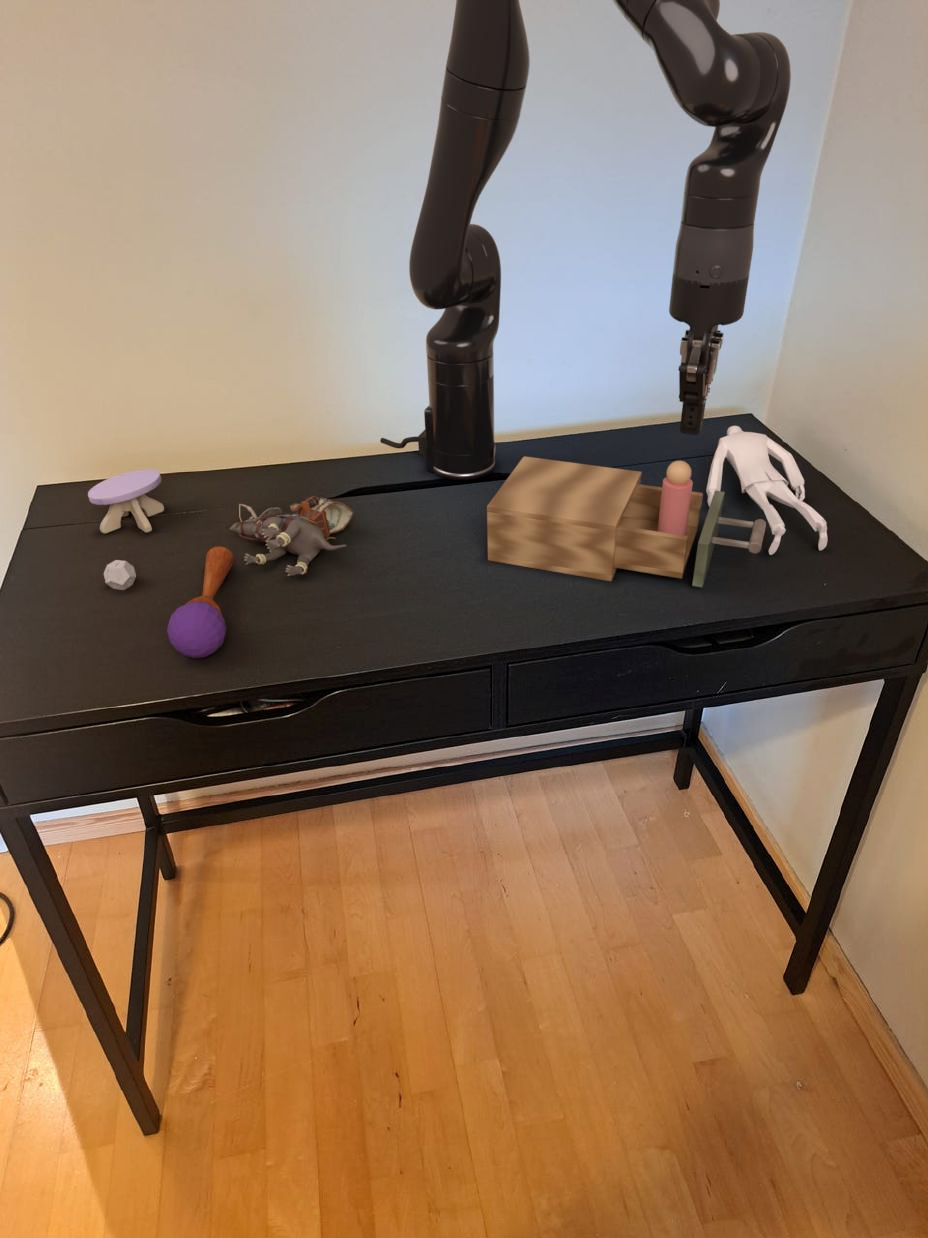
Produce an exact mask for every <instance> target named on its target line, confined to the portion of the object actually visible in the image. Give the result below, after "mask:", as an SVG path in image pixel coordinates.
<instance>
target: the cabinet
mask: <svg viewBox="0 0 928 1238" xmlns="http://www.w3.org/2000/svg"><path fill="white" fill-rule="evenodd" d="M642 472H643V471H638V470H631V469H623V468H617V467H616V468H615V467H608V466H600V465H592V464H585V463H578V462H571V461H563V460H554V459H547V458H539V457H533V456H523V457H522V458H521V459H520V460H519V462H518V463H517V465H516V466H515V468H514V469H513V471H512V472H511V473H510V474H509V476H507V478H506V480H505V481H504V482H503V484H502V485H501V487H500V488H499V489H498V490H497V492H496V493H495V495H494V496H493V497H492V499H490V501H489V503H487V505H486V520H487V521H486V523H487V525H486V526H487V533H486V534H487V561H490V562H496V563H502V564H506V565H513V566H519V567H524V568H530V569H537V570H541V571H548V572H553V573H554V572H555V573H560V574H565V575H571V576H577V577H582V578H588V579H593V580H594V579H595V580H600V581H606V582H612V581H613V579H614V577H615V574H616V572H617V571H618V568H615V567H614V558H615V545H616V533H617V527H618V525H619V523H620V521H621V519H622V517H623V514H624V512H625V510H626V508H627V506H628V504H629V502H630V500H631V498H632V495H633V493H634V491H635V489H636V487H637V485H638V484H641V482H642ZM641 485H642V484H641Z"/></svg>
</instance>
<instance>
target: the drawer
mask: <svg viewBox="0 0 928 1238" xmlns="http://www.w3.org/2000/svg"><path fill="white" fill-rule="evenodd" d="M661 494H662V486H655V485H649V484H648V485H647V484H638V485H637V487H636V489H635V491H634V493H633V495H632V498H631V500H630V502H629V504H628V506H627V508H626V510H625V512H624V514H623V517H622V519H621V521H620V523H619V525H618V527H617V533H616V545H615V558H614V567H615V568H617V569H621V570H627V571H634V572H640V573H645V574H651V575H657V576H662V577H663V576H664V577H669V578H675V579H681V580H682V579H683V577H684V573H685V571H686V567H687V565H688V561H689V558H690V556H691V552H692V549H693V546H694V544H695V540H696V537H697V534H698V531H699V525H700V518H701V510H702V503H703V496H704V493H703V492H700V491H692V493H691V501H690V508H689V516H688V523H687V531H686V536H684V535H677V534H670V533H664V532H657V531H658V522H659V512H660V503H661ZM725 494H726V492H725V491H722V490H720V491H715V492H714V495H713V498H712V501H711V504H710V507H709V506H708V507H709V508H708V511H707V514H706V516H705V520H704V523H703V526H702V529H701V533H700V535H699V539H698V542H697V549H696V555H695V562H694V569H693V578H692V585H691V586H692V587H697V588H703V587H704V584H705V581H706V577H707V574H708V571H709V567H710V563H711V560H712V558H713V557H712V556H713V552H714V549H715V547H716V546H715V545H722V546H727V547H733V548H734V547H735V548H741V549H748V552H750V553H751V554H758V553H760V552H761V550H762V546H763V541H764V537H765V532H766V528H767V527H766V526H767V522H766V521H765V520H764V519H763V518H759V519H756V520H754V521H749V520H743V519H736V518H730V517H729V518H728V517H722V512H723V505H724V501H725ZM720 525H727V526H735V527H742V528H749V529H751V534H750V538H749V541H743V540H737V539H731V538H725V537H718V535H719V531H720Z"/></svg>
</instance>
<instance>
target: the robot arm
mask: <svg viewBox="0 0 928 1238" xmlns="http://www.w3.org/2000/svg"><path fill="white" fill-rule="evenodd" d="M612 2H613V4H614V5H615V7H616V8H617V9H618V11H619V12H620V14H621V16H622V17H623V18H624V19H625V20H626V21H627V22H628V24H629V25H630V26H631V27H632V29H633V30H634V31H635V32H636V33H637V35H638V36H639V37H640V38H641V39H642V41H644V43H645V44H646V45H647V46H648V47H649V48H650V49H651V50H652V51H653V53H654V56H655V59H656V61H657V64H658V67H659V69H660V71H661V73H662V75H663V77H664V79H665V82H666V84H667V86H668V88H669V91H670V92H671V95H672V97H673V99H674V100H675V102H676V103H677V105H678V106H679V108H680V109H681V110H682V111H683V112H684V114H686V115H687V116H688V117H689V118H690V119H691V120H693V121H694V122H696V123H697V124H700V125H702V126H704V127H710V128H714V129H713V134H712V137H711V140H710V143H709V145H708V146H707V148H706V149H705V150H704V151H703V152H702V153H700V154H698V155H697V156H695V158H693V159H692V161H691V162H690V163H689V165H688V167H687V170H686V174H685V180H684V187H683V195H682V207H681V217H680V224H679V228H678V229H679V230H678V234H677V238H676V242H675V249H674V259H673V268H672V278H671V288H670V297H669V306H668V312H669V315H670V317H671V318H672V319H674V320H675V321H678V322H679V323H684V324H686V325H687V326H688V327H689V329H686V330H685V333H684V336H682V337H681V339H680V346H679V347H680V348H679V355H680V356H681V360H680V365H679V366H678V383H679V384H678V388H679V389H678V390H679V392H678V393H679V394H678V399H679V400H678V401H679V402H680V403H682V408H681V416H680V422H679V423H680V424H679V431H680V433H681V434H683V435H692V436H697V435H699V434H700V432H701V431H702V427H703V424H704V418H705V411H706V405H707V404H706V403H707V399H708V396H709V393H710V392H711V388H710V386H711V384H712V382H713V381H714V376H715V374H716V372H717V369H718V362H719V354H720V351H721V348H722V347H723V342H724V336H725V334H724V332H721V330H718V329H719V326H727V325H732V324H735V323H737V322H738V321H740V319H742V318H743V316H744V312H745V305H746V299H747V292H748V285H749V279H750V273H751V265H752V258H753V253H754V234H755V233H754V232H755V231H754V230H755V221H756V220H755V219H756V213H757V206H758V200H759V193H760V186H761V178H762V174H763V171H764V168H765V166H766V163H767V161H768V159H769V156H770V154H771V152H772V149H773V145H774V142H775V140H776V137H777V134H778V131H779V128H780V125H781V123H782V120H783V117H784V114H785V111H786V107H787V103H788V99H789V94H790V90H791V79H792V77H791V76H792V72H791V61H790V58H789V54H788V51H787V48H786V46H785V45H784V43H783V42H782V41H781V39H779V38H778V37H777V36H775V35H774V34H771V33H768V32H763V31H757V32H747V33H746V32H744V33H735V34H731V33H730V32H728V31H727V30H726V29H724V28H723V26H722V25H720V23H719V22H718V21H717V20H718V17H719V14H720V8H721V3H720V2H721V1H720V0H612ZM449 41H450V42H449V47H448V53H447V58H446V63H445V69H444V75H443V76H444V77H443V83H442V90H441V96H440V105H439V111H438V112H439V113H438V120H437V127H436V133H435V139H434V145H433V149H432V155H431V161H430V166H429V167H430V168H429V173H428V178H427V183H426V188H425V192H424V196H423V201H422V203H421V208H420V210H419V211H420V212H419V216H418V219H417V223H416V226H415V231H414V235H413V239H412V243H411V246H410V247H411V248H410V253H409V259H408V260H409V261H408V271H409V273H408V274H409V281H410V284H411V285H410V286H411V288H412V291H413V293H414V295H415V297H416V299H417V300H418V301H419V303H421V304H422V305H423V307H426V308H427V309H431V310H435V311H436V310H443V313H442V314H441V316H440V318H439V319H438V320H437V321H436V322H435V323H434V325H433V326H432V327H431V328H430V329H429V330H428V332H427V333H426V335H425V336H426V337H425V351H426V367H427V385H428V386H427V387H428V389H427V390H428V406H426V408H424V412H423V414H424V415H423V417H424V430H423V431H422V432H421V433H419V434H418V435H417V436H408V437H406V438H403V439H402V441H401V442H395V441H392V440H389V439H387V438H385V437H380V441H379V442H380V444H384V445H385V446H388V447H391V448H393V449H404V448H406V446H407V444H409V443H418V456H423V457H426V469H427V472H430V473H434V474H435V475H436V476H438V477H440V478H443V479H447V480H450V481H471V480H478V479H481V478H484V477H486V476H488V475H490V474H492V473H493V472H494V470H495V468H496V457H495V456H496V453H497V446H496V445H497V444H496V443H497V442H496V441H495V377H494V375H495V374H494V373H495V371H494V370H495V369H494V360H495V359H494V358H495V357H494V342H495V339H496V337H497V334H498V331H499V328H500V314H501V313H500V312H501V294H502V293H501V291H502V265H501V256H500V252H499V249H498V246H497V243H496V241H495V239H494V237H493V236H492V234H491V233H490V232H489V231H488V230H487V228H485V227H483V226H481V225H479V224H476V223H471V222H472V218H473V215H474V211H475V208H476V205H477V203H478V201H479V198H480V196H481V194H482V192H483V191H484V189H485V188H486V185H487V184H488V183H489V181H490V179H491V177H492V176H493V174H494V173H495V171H496V170H497V168H498V166H499V164H500V162H501V161H502V159H503V158H504V156H505V154H506V152H507V151H508V149H509V147H510V145H511V143H512V140H513V139H514V137H515V134H516V132H517V129H518V126H519V121H520V119H521V115H522V110H523V109H522V108H523V104H524V99H525V95H526V90H527V86H528V81H529V75H530V67H531V61H530V60H531V59H530V58H531V57H530V49H529V48H530V47H529V42H528V35H527V31H526V26H525V21H524V17H523V13H522V8H521V3H520V0H456V1H455V9H454V16H453V24H452V30H451V36H450V40H449Z"/></svg>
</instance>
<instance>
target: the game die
mask: <svg viewBox="0 0 928 1238" xmlns="http://www.w3.org/2000/svg"><path fill="white" fill-rule="evenodd" d="M103 577H104V582H105V584H106V585H107V586H109V587H110V588H111V589H113V590H120V591H125V590H126V589H129V588H130V587H132V586H133V585H134V583H135V580H136V578H137V573H136V570H135V567H134V566H133V565H132V564H131V563H129V562H128V561H127V560H120V559H115V560H113V561H112V562H110V563H108V564H106V567H105V568H104V572H103Z"/></svg>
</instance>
